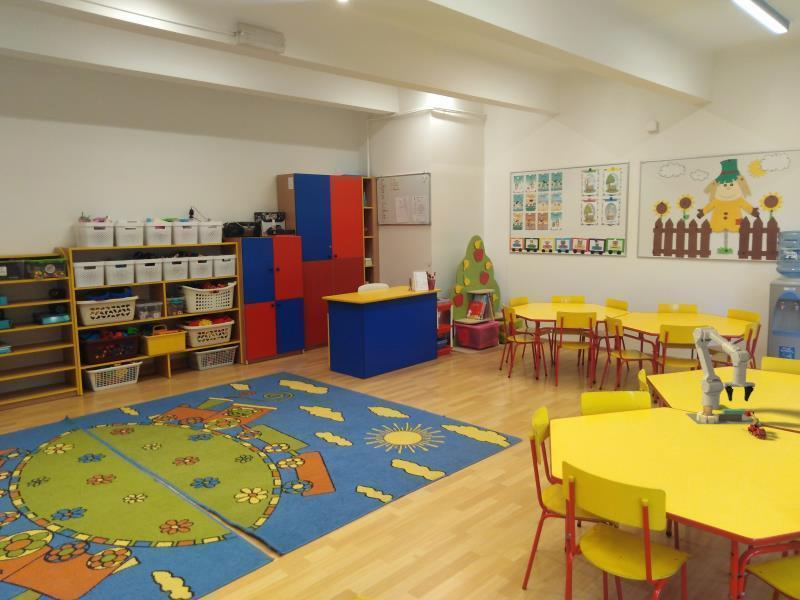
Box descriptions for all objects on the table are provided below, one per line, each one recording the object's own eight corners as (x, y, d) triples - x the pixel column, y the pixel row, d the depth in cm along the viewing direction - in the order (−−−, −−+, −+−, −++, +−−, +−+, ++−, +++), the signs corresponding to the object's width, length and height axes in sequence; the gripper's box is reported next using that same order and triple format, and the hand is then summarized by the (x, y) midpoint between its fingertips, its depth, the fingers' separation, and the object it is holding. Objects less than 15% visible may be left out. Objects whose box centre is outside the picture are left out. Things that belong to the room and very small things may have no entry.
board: (685, 415, 312) (685, 407, 311) (746, 415, 309) (746, 407, 308) (697, 426, 296) (697, 417, 295) (761, 426, 293) (762, 418, 292)
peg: (701, 418, 303) (701, 405, 302) (709, 418, 303) (710, 405, 302) (704, 421, 299) (705, 407, 298) (713, 421, 299) (714, 407, 298)
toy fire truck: (759, 439, 277) (760, 419, 276) (743, 429, 291) (744, 409, 289) (766, 439, 277) (767, 419, 276) (750, 429, 291) (751, 409, 289)
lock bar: (721, 412, 301) (722, 408, 301) (747, 412, 300) (747, 408, 300) (724, 414, 298) (724, 410, 298) (749, 414, 297) (749, 410, 297)
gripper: (727, 376, 297) (726, 403, 299) (758, 376, 296) (757, 403, 298) (721, 372, 304) (720, 398, 306) (751, 372, 303) (750, 398, 304)
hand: (738, 400), depth 302 cm, fingers open, 7 cm apart
